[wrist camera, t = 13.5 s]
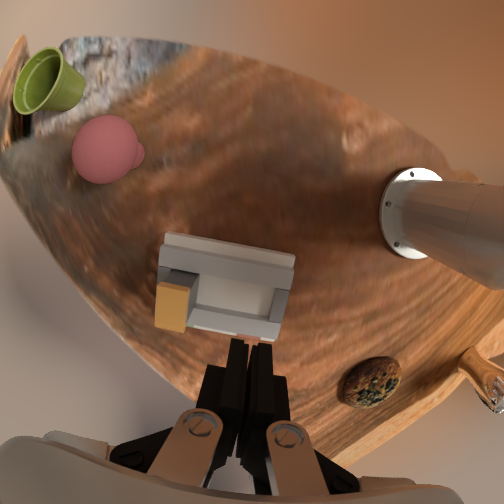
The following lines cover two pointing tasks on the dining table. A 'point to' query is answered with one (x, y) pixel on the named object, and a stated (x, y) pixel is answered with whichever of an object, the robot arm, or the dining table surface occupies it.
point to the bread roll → (372, 382)
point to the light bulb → (106, 149)
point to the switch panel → (231, 284)
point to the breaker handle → (176, 300)
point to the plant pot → (47, 83)
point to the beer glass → (484, 378)
